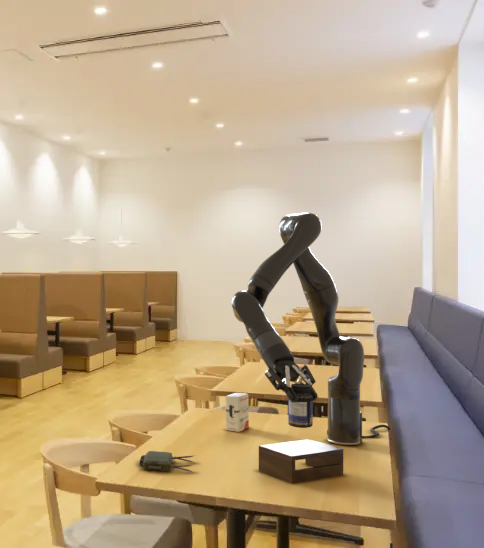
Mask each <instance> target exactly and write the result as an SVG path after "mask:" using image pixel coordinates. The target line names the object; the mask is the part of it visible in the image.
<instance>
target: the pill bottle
mask: <svg viewBox="0 0 484 548" xmlns="http://www.w3.org/2000/svg"><path fill="white" fill-rule="evenodd" d="M290 387H292V388H293V390H294V391H295V393H296V394H297V396H298V400H297V401H296V402H295V403H292V402H291V401H290V400H289V398H288V397H287V398H288V400H287V401H288V407H287V409H288V412H287V413H288V414H287V416H288V417H287V422H288V423H287V424H288V425H289V426H290V427H293V428H299V429H307V428H311V427H313V424H314V401H313V397H312V395H311V394H309V391H310V385H307V384H306V383H304V384H295V383H292V384H291V383H290Z"/></svg>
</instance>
